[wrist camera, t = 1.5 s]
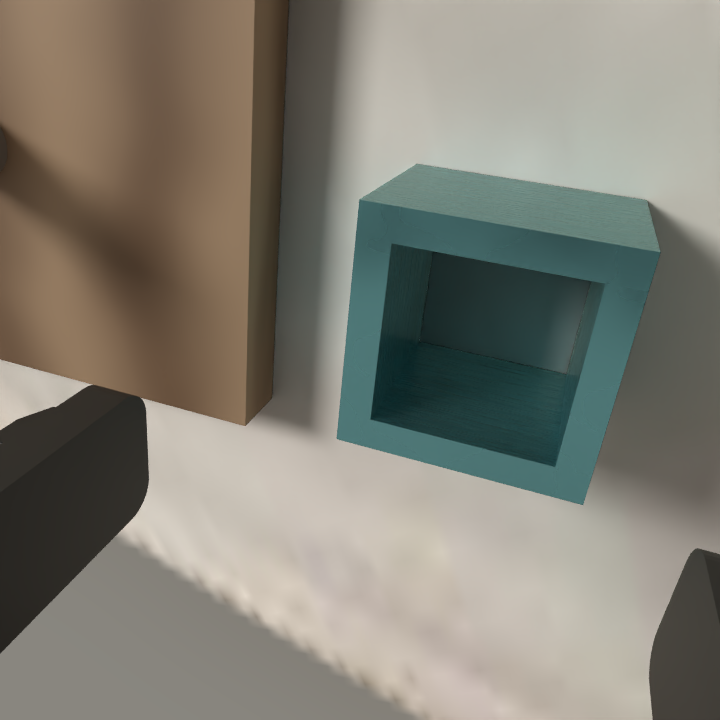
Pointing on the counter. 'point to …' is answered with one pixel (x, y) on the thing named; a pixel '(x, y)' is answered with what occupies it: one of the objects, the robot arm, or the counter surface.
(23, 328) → the post board
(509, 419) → the collar
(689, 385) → the counter surface
